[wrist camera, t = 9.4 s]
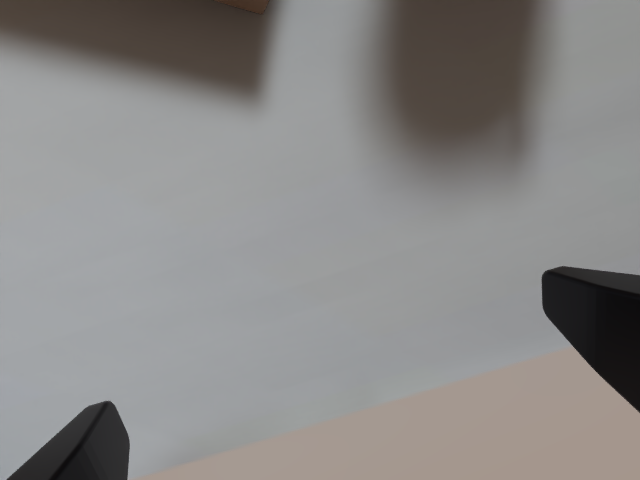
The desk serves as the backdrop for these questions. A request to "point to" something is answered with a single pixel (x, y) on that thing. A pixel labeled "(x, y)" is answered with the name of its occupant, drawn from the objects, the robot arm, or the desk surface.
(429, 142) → the desk surface
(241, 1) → the socket board
